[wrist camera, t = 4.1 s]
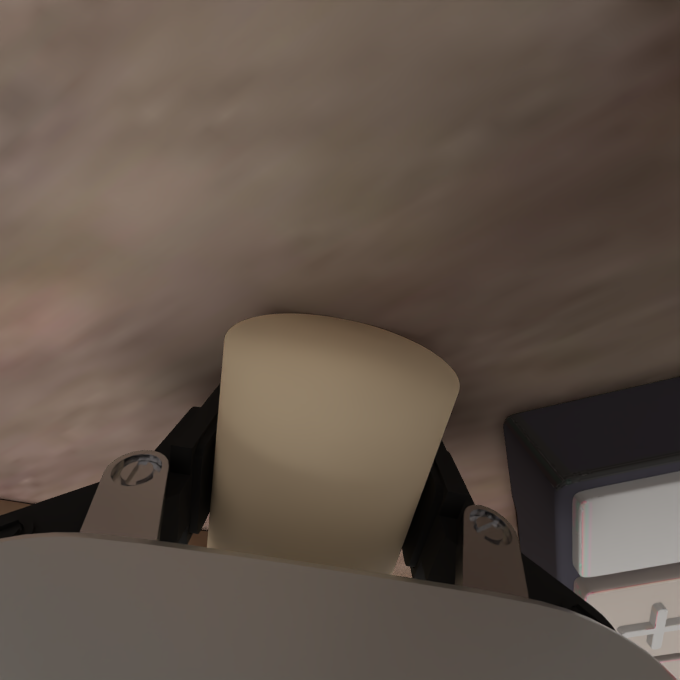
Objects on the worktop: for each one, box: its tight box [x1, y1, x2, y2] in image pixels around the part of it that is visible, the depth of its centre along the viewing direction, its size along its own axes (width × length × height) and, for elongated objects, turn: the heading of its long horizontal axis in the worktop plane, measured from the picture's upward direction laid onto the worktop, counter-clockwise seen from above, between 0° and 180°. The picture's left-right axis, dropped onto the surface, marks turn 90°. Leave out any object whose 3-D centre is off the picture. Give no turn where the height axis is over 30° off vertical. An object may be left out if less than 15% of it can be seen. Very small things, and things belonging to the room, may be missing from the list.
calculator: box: [503, 377, 680, 680], centre depth 13 cm, size 11×4×15 cm
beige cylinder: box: [207, 313, 460, 575], centre depth 10 cm, size 10×6×6 cm
